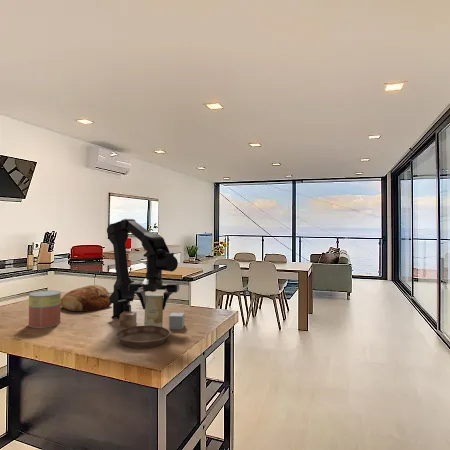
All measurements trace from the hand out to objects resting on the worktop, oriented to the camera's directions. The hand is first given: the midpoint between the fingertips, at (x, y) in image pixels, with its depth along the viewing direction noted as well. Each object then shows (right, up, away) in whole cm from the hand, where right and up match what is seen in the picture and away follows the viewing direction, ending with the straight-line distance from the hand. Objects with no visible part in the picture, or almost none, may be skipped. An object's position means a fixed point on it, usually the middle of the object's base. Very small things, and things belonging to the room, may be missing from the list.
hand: (153, 309), depth 139 cm
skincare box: (0, -7, 0) cm, 7 cm away
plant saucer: (0, -7, -17) cm, 18 cm away
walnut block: (-10, -7, +1) cm, 12 cm away
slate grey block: (+9, -7, 0) cm, 11 cm away
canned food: (-43, -6, +2) cm, 44 cm away
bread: (-39, -6, +30) cm, 49 cm away
